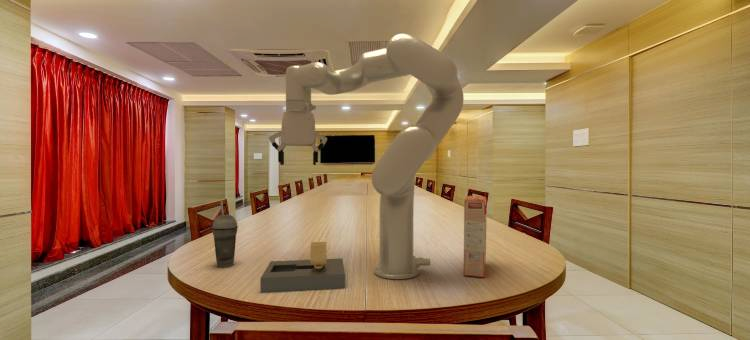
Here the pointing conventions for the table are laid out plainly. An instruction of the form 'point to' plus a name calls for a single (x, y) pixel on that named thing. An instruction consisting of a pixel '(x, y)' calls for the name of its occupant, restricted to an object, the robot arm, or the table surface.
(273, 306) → the table surface
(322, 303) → the table surface
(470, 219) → the cracker box
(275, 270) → the keyhole plate
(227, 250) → the beverage cup
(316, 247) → the brass peg
